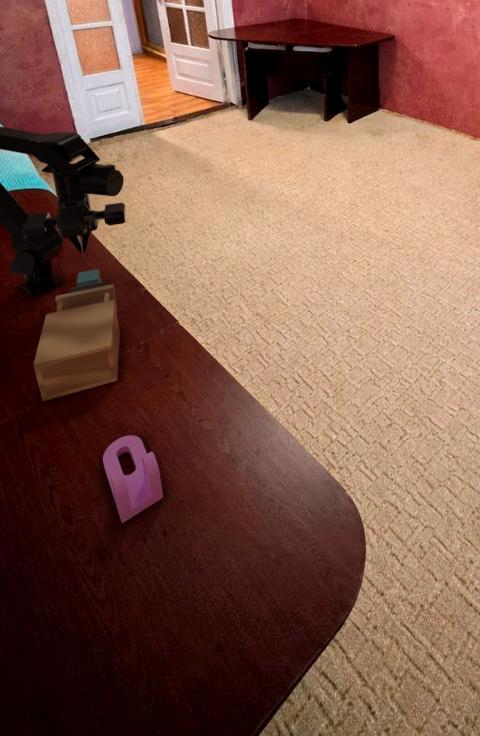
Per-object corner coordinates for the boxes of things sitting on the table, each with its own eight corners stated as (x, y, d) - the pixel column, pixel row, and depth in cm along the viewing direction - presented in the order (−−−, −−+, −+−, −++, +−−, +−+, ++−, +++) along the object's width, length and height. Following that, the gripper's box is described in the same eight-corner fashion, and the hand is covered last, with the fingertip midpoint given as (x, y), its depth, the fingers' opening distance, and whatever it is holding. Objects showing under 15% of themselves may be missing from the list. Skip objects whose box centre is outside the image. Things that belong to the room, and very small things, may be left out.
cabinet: (54, 348, 97) (46, 314, 94) (119, 332, 102) (114, 299, 99) (42, 401, 86) (33, 364, 83) (117, 380, 91) (110, 345, 88)
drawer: (64, 308, 107) (59, 282, 104) (118, 296, 111) (114, 272, 109) (52, 364, 93) (46, 336, 90) (114, 348, 97) (110, 321, 95)
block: (81, 287, 115) (78, 272, 113) (101, 283, 117) (99, 268, 115) (79, 298, 111) (76, 283, 110) (100, 293, 113) (97, 278, 112)
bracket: (163, 497, 72) (158, 464, 70) (121, 523, 69) (115, 489, 66) (138, 435, 81) (133, 404, 79) (100, 455, 78) (93, 423, 75)
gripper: (9, 214, 94) (25, 281, 99) (119, 200, 102) (128, 262, 107) (22, 190, 103) (36, 252, 109) (121, 179, 111) (130, 237, 117)
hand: (83, 251), depth 110 cm, fingers closed
